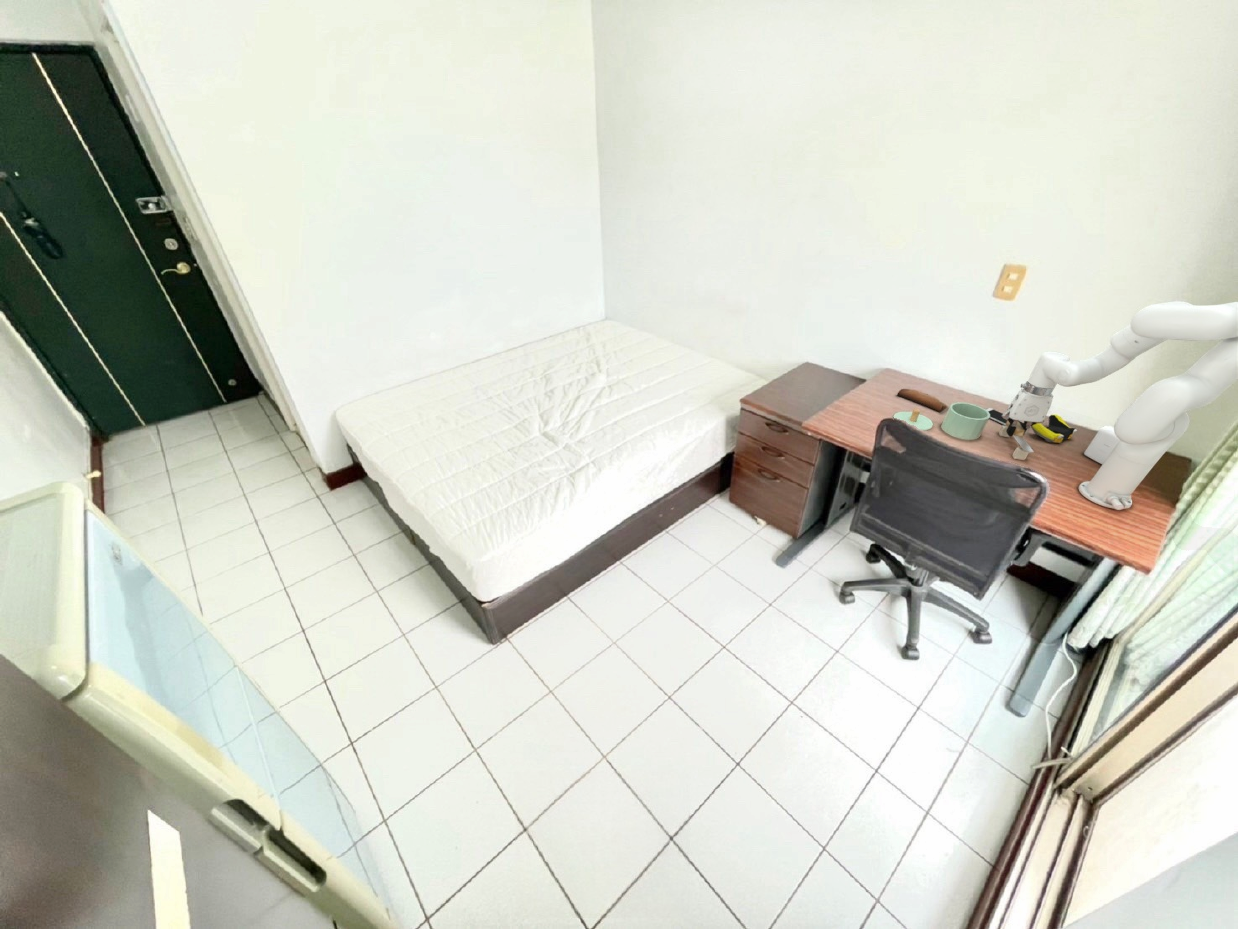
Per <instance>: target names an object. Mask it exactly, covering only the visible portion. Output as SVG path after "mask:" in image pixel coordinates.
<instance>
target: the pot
mask: <svg viewBox="0 0 1238 929" xmlns="http://www.w3.org/2000/svg"><path fill="white" fill-rule="evenodd" d="M989 417H990V413H989V412H988V411H987V410H986V409H985V408H984V407H982V406H979V405H978V404H973V403H969V402H962V401H961V402H960V401H959V402H953V403H951V404H950V405H949V407H948V410H947V411H946V414H945V416H944V419H943V420H942V423H941V425H940V428H941V430H942V431H943V432H944V433H946V434H948V435H949V436H952V437H953V438H957V439H960V440H968V441H970V440H977V439H979V438H980V437H981V435H982V433H983V431H984V429H985V427H986V425H987V423H988V421H989V420H990V418H989Z"/></svg>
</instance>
